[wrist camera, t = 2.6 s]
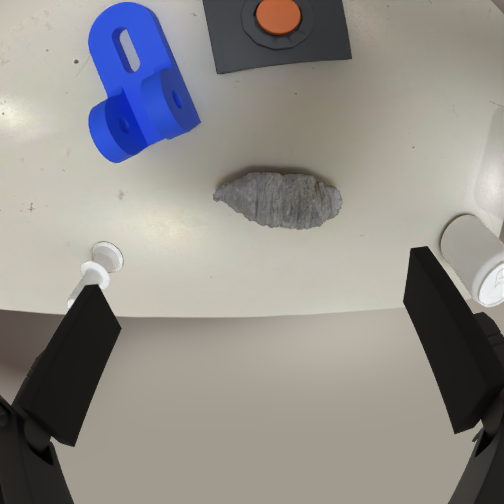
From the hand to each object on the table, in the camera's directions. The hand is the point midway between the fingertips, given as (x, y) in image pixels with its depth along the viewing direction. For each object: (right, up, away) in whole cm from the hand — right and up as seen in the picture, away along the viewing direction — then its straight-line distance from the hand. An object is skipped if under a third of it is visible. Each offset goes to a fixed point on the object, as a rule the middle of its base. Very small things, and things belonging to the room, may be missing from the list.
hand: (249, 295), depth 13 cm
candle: (-22, +1, +32) cm, 39 cm away
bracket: (-13, +23, +18) cm, 32 cm away
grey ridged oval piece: (+3, +9, +26) cm, 28 cm away
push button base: (+3, +26, +15) cm, 30 cm away
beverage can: (+31, +4, +28) cm, 42 cm away
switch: (+3, +24, +11) cm, 27 cm away
